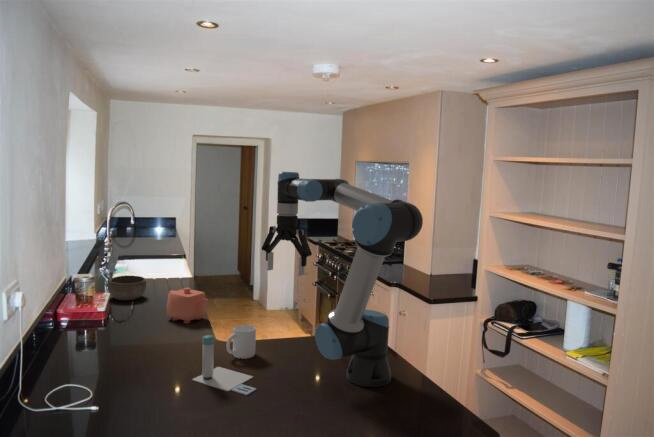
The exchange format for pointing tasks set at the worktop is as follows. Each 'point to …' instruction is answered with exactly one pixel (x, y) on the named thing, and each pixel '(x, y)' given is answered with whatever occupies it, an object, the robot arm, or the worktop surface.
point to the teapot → (186, 305)
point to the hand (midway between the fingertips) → (285, 272)
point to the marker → (207, 356)
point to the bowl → (127, 287)
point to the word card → (243, 389)
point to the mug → (242, 341)
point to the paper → (224, 379)
